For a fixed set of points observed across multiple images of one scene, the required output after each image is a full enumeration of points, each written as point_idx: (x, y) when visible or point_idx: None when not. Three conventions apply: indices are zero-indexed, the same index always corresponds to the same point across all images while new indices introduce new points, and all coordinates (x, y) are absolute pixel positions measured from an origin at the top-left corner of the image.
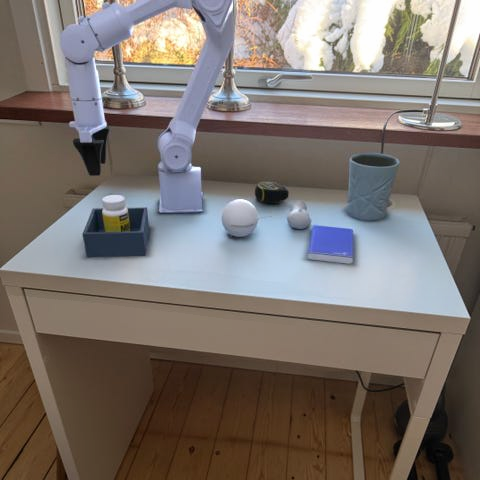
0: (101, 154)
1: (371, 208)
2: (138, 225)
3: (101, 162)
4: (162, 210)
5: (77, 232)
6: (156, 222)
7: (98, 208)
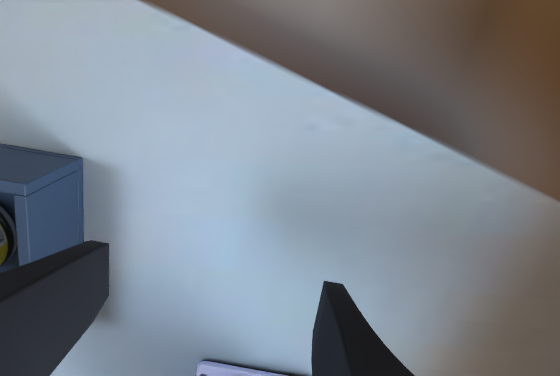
0: (317, 365)
1: None
2: None
3: (316, 320)
4: (206, 373)
5: (68, 88)
6: (134, 340)
7: (24, 207)
